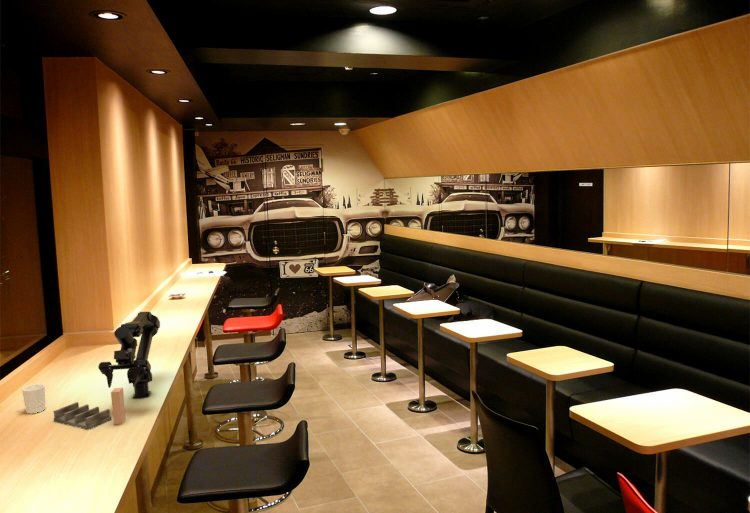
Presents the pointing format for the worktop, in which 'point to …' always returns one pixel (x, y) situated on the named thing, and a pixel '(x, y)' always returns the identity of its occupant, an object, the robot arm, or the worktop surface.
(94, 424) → the rack
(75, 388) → the worktop surface
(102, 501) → the worktop surface
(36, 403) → the white cup
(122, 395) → the clay bar
